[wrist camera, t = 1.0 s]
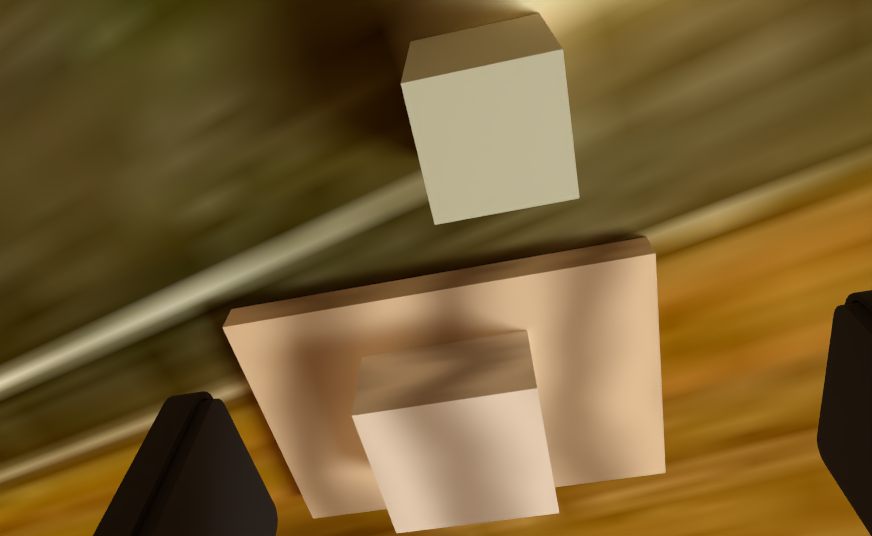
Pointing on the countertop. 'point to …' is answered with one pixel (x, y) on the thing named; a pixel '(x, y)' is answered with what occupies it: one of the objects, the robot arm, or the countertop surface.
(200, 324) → the countertop surface
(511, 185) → the sage block
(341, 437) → the stack base
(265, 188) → the countertop surface
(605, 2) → the countertop surface
